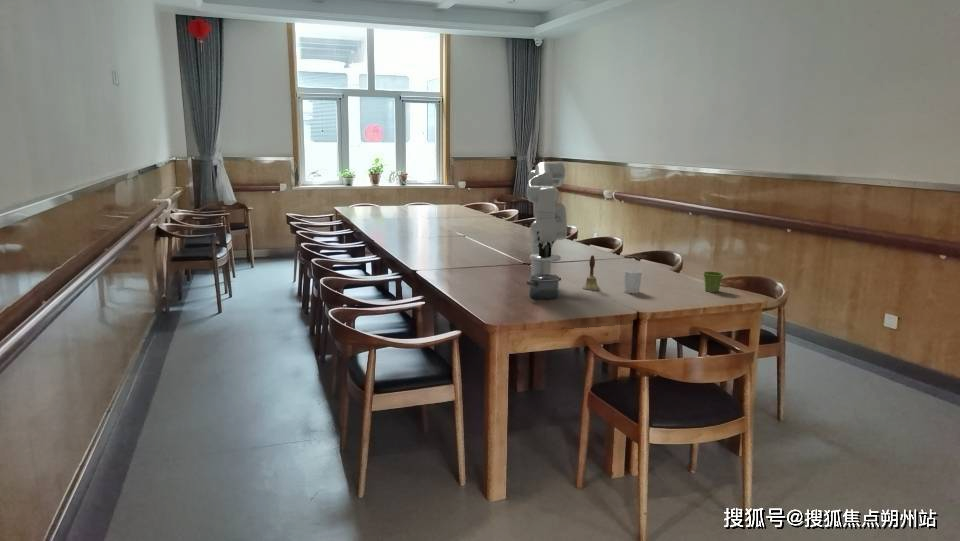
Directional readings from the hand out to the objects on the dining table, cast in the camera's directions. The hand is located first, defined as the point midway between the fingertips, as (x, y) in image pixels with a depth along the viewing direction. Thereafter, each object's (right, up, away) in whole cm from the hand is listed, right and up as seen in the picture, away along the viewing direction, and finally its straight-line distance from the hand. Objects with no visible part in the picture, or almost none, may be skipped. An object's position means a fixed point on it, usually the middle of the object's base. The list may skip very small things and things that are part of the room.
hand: (545, 256), depth 289 cm
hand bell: (+24, -15, +21) cm, 36 cm away
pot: (0, -18, +4) cm, 19 cm away
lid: (0, -1, 0) cm, 1 cm away
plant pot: (+82, -17, +18) cm, 85 cm away
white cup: (+42, -17, +14) cm, 48 cm away
